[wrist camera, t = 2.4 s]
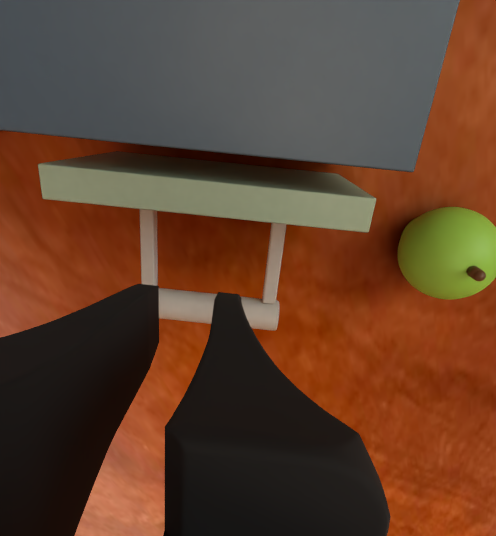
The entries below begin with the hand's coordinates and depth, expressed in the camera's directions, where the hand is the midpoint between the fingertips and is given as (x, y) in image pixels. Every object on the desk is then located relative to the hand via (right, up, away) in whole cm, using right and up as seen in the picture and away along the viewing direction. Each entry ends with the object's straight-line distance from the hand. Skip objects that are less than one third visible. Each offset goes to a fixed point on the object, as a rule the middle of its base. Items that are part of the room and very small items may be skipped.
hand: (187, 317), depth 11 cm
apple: (+12, +3, +9) cm, 15 cm away
